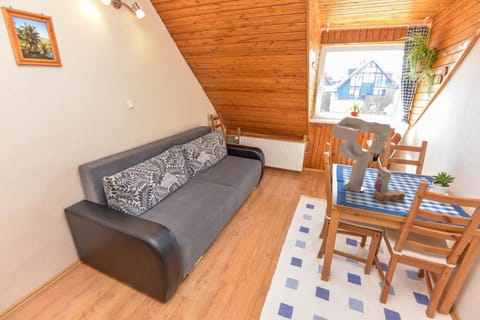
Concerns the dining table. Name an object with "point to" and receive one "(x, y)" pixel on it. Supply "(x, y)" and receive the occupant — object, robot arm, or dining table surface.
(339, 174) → the dining table surface
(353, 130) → the robot arm
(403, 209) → the dining table surface
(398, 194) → the brown lumpy bar
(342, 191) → the dining table surface
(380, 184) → the candy bar box
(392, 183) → the dining table surface
